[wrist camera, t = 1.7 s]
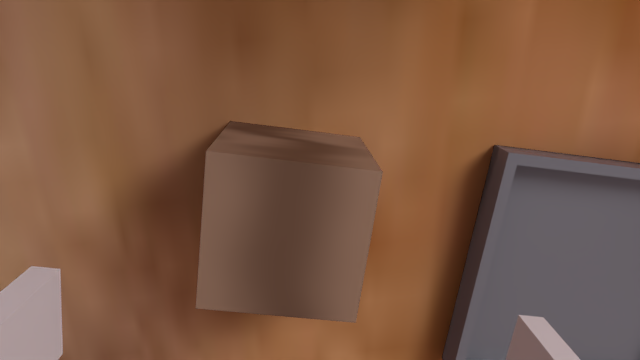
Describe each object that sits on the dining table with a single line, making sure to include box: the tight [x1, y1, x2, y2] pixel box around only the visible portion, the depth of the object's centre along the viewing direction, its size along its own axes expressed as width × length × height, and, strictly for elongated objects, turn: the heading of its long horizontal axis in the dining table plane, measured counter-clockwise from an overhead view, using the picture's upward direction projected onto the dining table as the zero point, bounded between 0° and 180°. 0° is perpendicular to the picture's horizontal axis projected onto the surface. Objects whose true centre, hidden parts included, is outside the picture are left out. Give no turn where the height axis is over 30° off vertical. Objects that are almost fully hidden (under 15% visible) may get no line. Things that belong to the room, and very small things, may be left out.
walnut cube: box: [196, 121, 383, 323], centre depth 22 cm, size 7×7×7 cm
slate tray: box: [442, 145, 640, 360], centre depth 27 cm, size 14×14×2 cm
